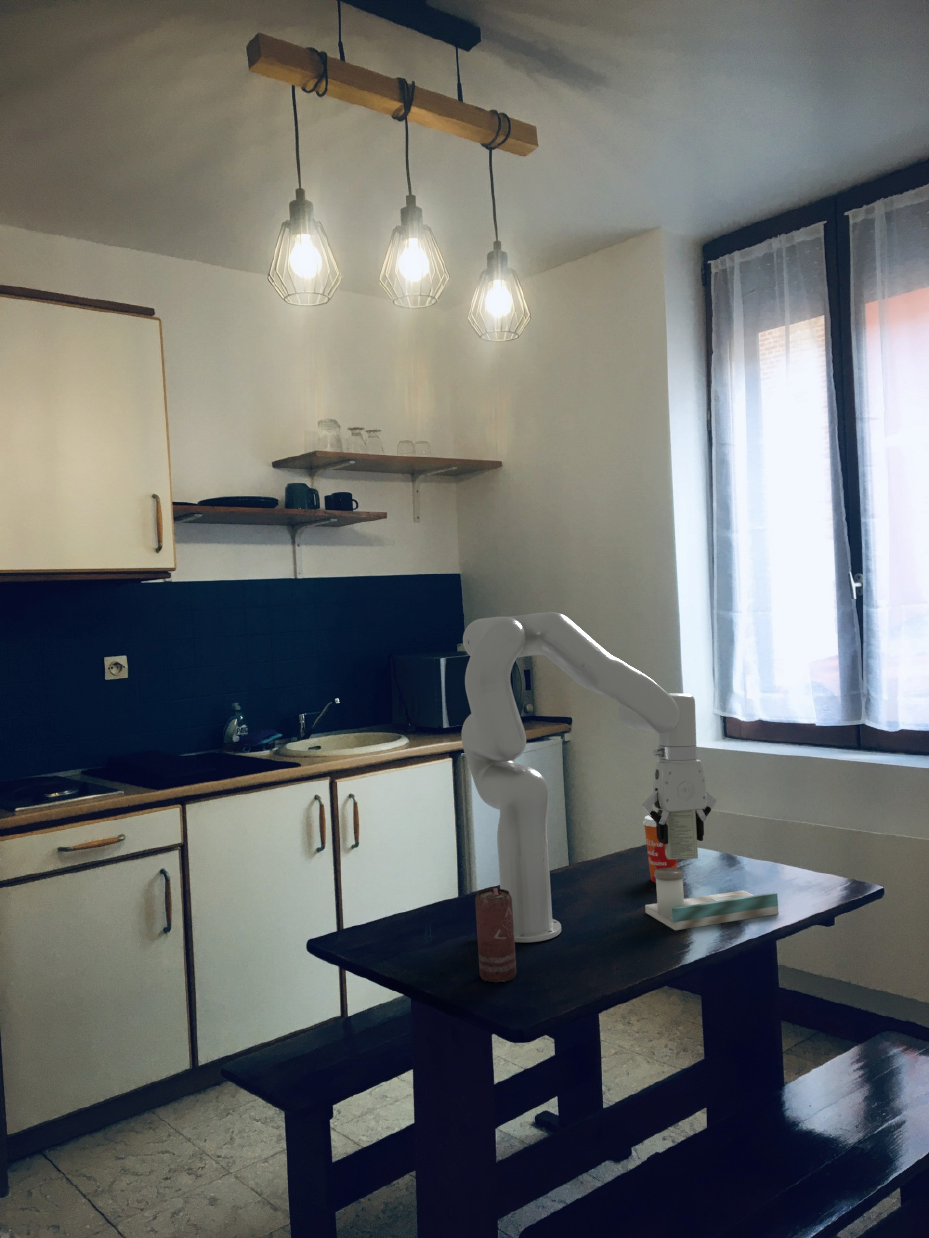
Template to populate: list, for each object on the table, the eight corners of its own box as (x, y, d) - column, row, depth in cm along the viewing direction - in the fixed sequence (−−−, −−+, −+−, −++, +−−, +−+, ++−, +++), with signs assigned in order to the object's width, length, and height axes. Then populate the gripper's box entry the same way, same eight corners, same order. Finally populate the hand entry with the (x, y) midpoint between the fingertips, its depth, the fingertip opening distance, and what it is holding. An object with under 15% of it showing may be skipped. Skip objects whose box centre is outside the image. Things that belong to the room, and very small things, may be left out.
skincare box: (695, 854, 193) (693, 794, 193) (698, 859, 188) (696, 798, 189) (663, 854, 193) (661, 795, 194) (666, 859, 189) (664, 798, 189)
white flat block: (675, 930, 174) (673, 909, 174) (645, 912, 185) (644, 892, 185) (778, 913, 180) (777, 893, 180) (743, 897, 191) (742, 878, 191)
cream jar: (665, 919, 176) (662, 876, 176) (652, 911, 181) (649, 869, 181) (691, 915, 177) (688, 872, 177) (677, 907, 182) (674, 866, 182)
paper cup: (640, 878, 210) (636, 816, 210) (670, 873, 212) (666, 812, 212) (657, 887, 202) (653, 822, 203) (688, 882, 205) (684, 818, 205)
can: (514, 968, 159) (509, 885, 159) (518, 982, 153) (512, 896, 153) (479, 970, 159) (474, 888, 159) (481, 985, 153) (475, 899, 153)
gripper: (647, 758, 185) (650, 848, 185) (725, 753, 190) (728, 841, 190) (630, 754, 193) (633, 841, 192) (706, 749, 197) (709, 834, 197)
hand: (680, 840), depth 191 cm, fingers closed on skincare box, 7 cm apart
